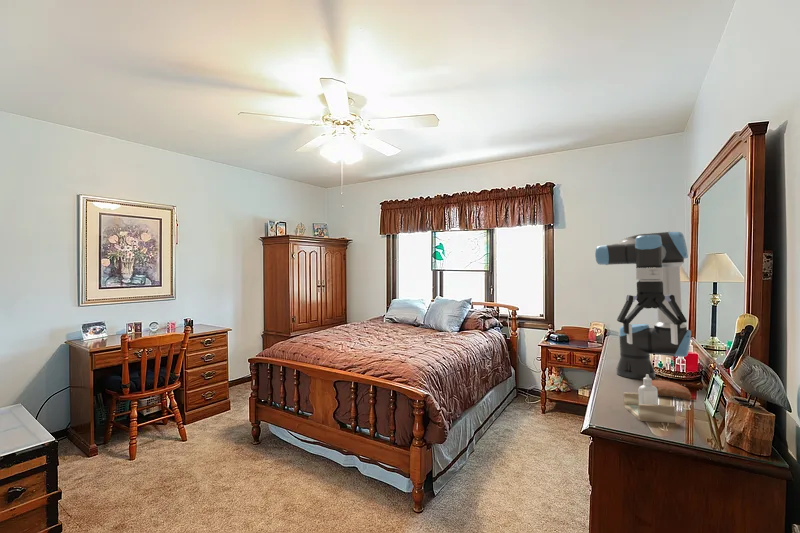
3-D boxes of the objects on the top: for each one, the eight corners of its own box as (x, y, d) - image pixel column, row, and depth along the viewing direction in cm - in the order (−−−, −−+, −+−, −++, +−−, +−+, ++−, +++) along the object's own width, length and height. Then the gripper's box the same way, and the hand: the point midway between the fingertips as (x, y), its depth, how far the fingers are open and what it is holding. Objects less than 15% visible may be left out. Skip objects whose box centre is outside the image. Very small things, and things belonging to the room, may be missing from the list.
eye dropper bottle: (660, 413, 124) (658, 376, 124) (640, 411, 126) (638, 375, 126) (657, 409, 128) (655, 373, 128) (637, 407, 130) (636, 372, 130)
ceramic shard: (684, 377, 151) (692, 393, 138) (682, 392, 152) (689, 409, 139) (641, 369, 158) (644, 383, 145) (639, 383, 159) (642, 399, 146)
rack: (624, 406, 134) (623, 392, 134) (655, 408, 132) (654, 393, 132) (640, 421, 121) (639, 405, 121) (675, 422, 119) (674, 406, 119)
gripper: (613, 281, 127) (615, 345, 127) (697, 280, 122) (700, 346, 122) (605, 281, 134) (607, 341, 134) (685, 279, 129) (687, 341, 129)
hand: (651, 343), depth 128 cm, fingers open, 13 cm apart
